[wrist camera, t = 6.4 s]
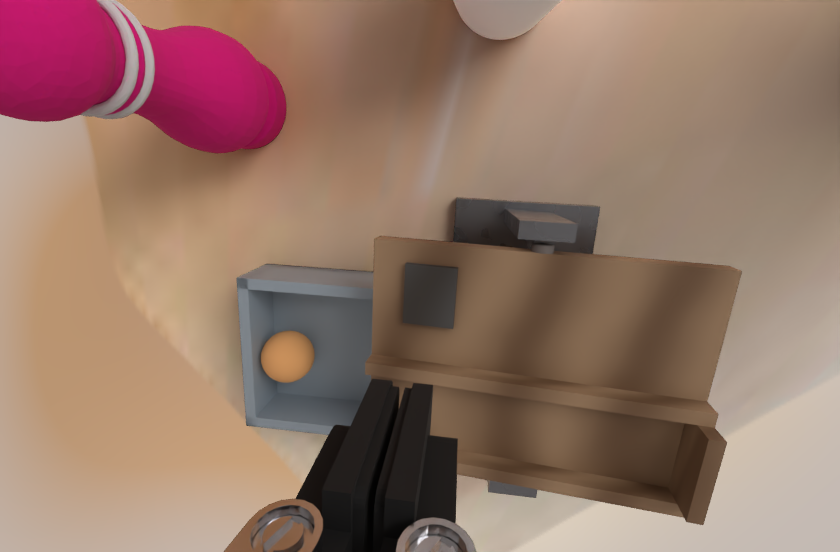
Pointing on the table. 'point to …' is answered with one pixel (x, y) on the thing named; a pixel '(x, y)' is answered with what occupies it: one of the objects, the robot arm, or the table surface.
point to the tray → (561, 365)
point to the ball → (287, 356)
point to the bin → (329, 334)
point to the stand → (525, 243)
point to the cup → (503, 16)
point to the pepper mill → (134, 74)
